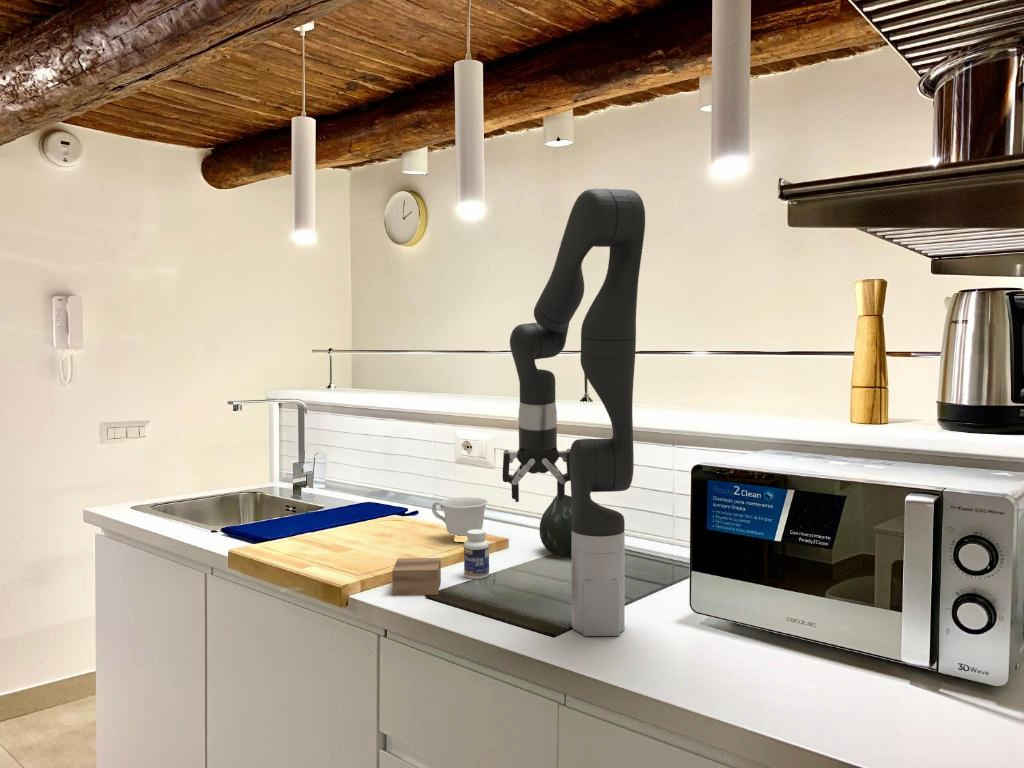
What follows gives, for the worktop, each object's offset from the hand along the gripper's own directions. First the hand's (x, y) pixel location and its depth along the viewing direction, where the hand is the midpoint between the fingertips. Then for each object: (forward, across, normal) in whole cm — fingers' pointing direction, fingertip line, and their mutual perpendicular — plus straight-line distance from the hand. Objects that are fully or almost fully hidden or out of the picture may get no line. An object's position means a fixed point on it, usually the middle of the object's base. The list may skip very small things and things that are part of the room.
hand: (538, 500), depth 158 cm
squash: (+24, +9, +25) cm, 35 cm away
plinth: (+18, -25, -1) cm, 31 cm away
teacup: (+26, -18, +38) cm, 50 cm away
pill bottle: (+20, -13, +7) cm, 25 cm away
